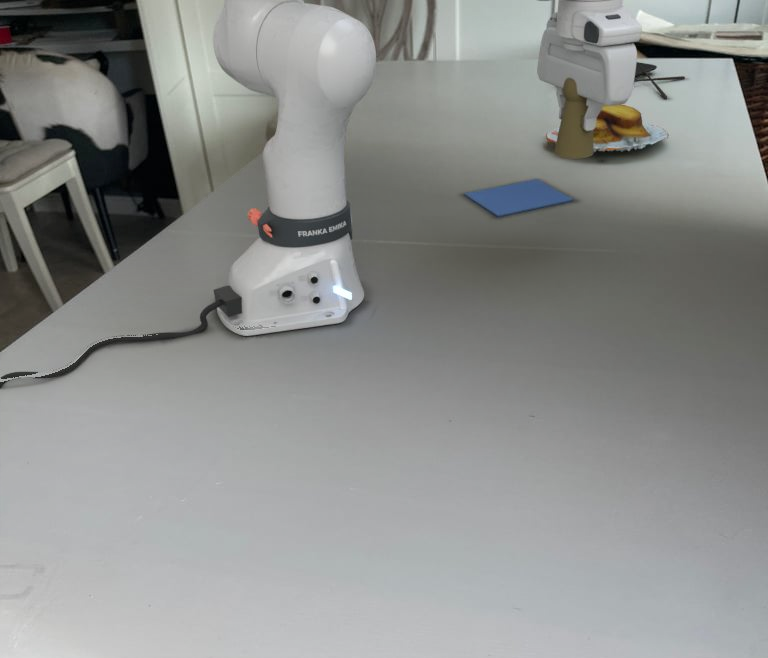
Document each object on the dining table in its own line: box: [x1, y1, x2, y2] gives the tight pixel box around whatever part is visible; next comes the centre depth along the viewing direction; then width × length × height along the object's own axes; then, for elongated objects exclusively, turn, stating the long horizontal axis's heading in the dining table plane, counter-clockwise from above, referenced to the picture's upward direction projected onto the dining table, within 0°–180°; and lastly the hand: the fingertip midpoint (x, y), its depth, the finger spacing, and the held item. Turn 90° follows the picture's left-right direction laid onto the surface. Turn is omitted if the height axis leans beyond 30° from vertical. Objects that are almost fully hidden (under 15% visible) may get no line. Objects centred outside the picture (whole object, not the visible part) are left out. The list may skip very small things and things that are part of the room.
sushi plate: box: [634, 61, 686, 100], centre depth 210 cm, size 29×30×4 cm
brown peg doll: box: [553, 78, 594, 160], centre depth 123 cm, size 6×6×11 cm
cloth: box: [464, 178, 574, 218], centre depth 152 cm, size 16×13×1 cm
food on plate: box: [545, 104, 670, 162], centre depth 172 cm, size 25×25×7 cm
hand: (576, 124), depth 124 cm, fingers closed on brown peg doll, 4 cm apart
